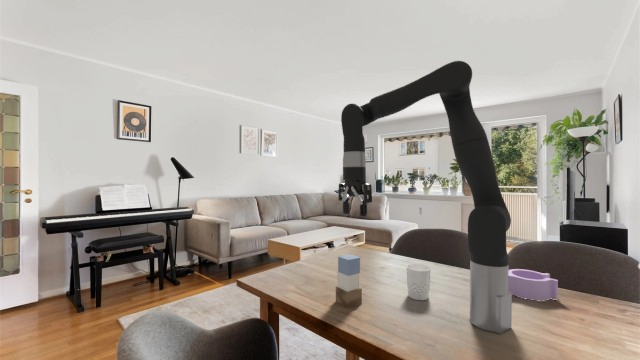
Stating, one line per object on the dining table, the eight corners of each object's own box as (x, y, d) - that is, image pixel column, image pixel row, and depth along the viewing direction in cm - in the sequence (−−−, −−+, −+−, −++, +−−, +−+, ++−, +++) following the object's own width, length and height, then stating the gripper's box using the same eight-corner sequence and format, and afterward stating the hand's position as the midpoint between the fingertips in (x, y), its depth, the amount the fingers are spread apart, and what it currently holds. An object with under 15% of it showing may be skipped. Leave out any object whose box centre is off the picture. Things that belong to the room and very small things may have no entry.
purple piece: (490, 296, 102) (491, 276, 101) (483, 283, 113) (484, 265, 113) (561, 304, 95) (561, 283, 95) (546, 290, 107) (546, 271, 107)
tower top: (359, 288, 95) (359, 273, 95) (347, 291, 92) (347, 276, 92) (349, 283, 99) (349, 268, 99) (337, 286, 97) (337, 271, 96)
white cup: (414, 302, 96) (414, 271, 96) (401, 293, 104) (402, 264, 104) (435, 299, 98) (435, 269, 98) (421, 290, 106) (421, 263, 106)
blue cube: (359, 272, 95) (360, 257, 95) (348, 275, 92) (348, 260, 92) (349, 268, 99) (349, 254, 99) (338, 271, 97) (338, 256, 96)
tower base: (361, 304, 95) (361, 288, 95) (347, 308, 92) (347, 292, 92) (349, 297, 100) (349, 282, 100) (335, 301, 97) (335, 286, 97)
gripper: (377, 165, 94) (378, 216, 94) (349, 166, 106) (349, 212, 106) (360, 165, 90) (360, 218, 90) (332, 166, 102) (332, 213, 102)
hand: (354, 214), depth 98 cm, fingers open, 8 cm apart
